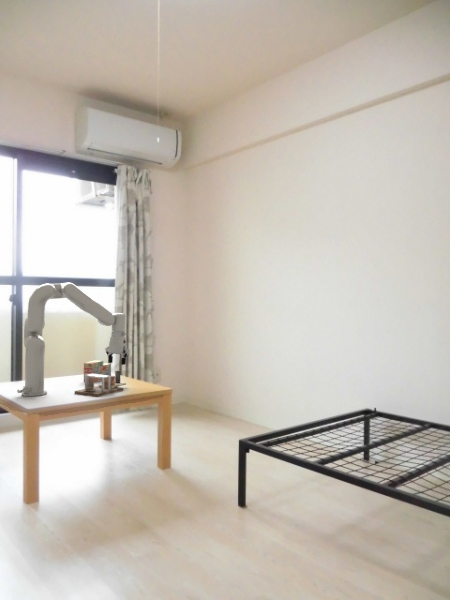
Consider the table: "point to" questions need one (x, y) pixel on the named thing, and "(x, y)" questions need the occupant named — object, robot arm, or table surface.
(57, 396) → the table surface
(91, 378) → the tunnel
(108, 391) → the track board
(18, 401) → the table surface
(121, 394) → the table surface
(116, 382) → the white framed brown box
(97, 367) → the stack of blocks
